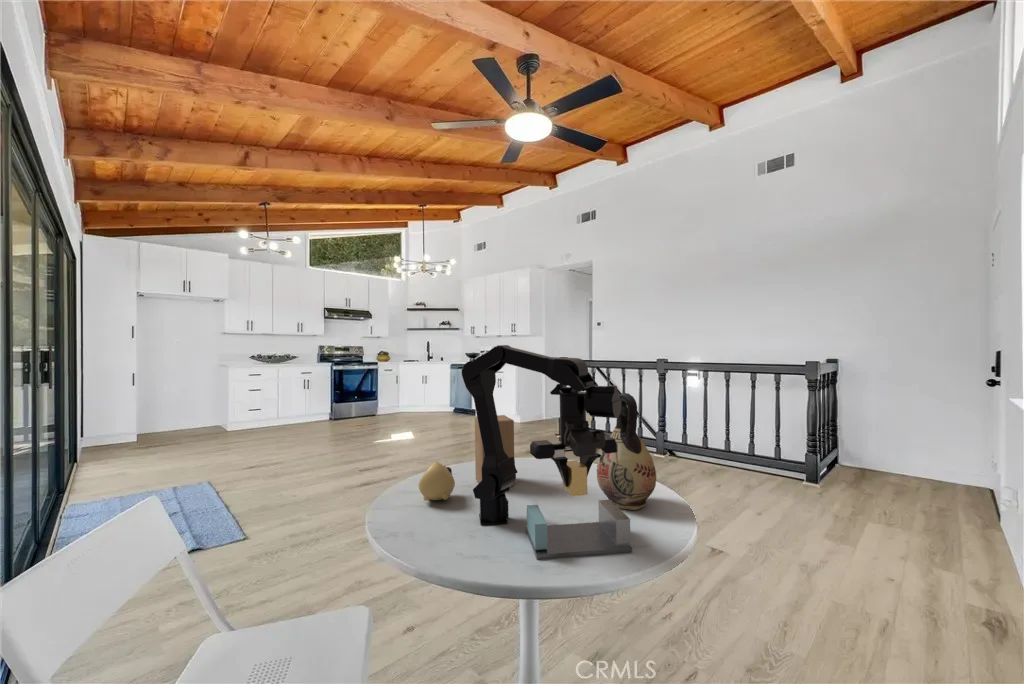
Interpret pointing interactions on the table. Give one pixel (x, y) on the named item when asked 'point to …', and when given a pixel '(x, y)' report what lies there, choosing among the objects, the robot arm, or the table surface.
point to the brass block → (576, 478)
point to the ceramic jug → (627, 462)
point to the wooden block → (507, 440)
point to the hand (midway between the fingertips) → (574, 485)
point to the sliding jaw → (537, 527)
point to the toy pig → (437, 482)
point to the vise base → (589, 535)
